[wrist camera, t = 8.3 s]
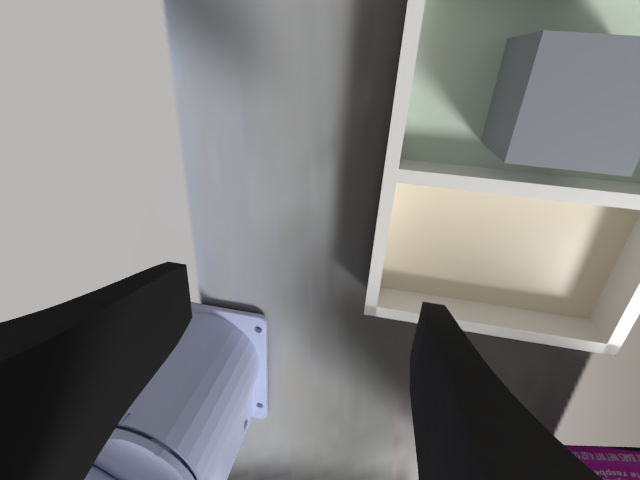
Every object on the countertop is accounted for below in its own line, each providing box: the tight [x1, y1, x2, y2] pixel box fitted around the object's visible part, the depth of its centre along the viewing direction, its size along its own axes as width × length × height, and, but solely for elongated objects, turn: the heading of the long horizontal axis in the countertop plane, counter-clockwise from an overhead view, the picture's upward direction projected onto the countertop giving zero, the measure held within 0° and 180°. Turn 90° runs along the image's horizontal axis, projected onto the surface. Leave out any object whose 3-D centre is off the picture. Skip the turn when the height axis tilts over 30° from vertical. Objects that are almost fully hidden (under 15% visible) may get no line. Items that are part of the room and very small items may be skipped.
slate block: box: [481, 30, 640, 177], centre depth 13 cm, size 4×4×4 cm
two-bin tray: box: [364, 0, 640, 356], centre depth 16 cm, size 15×12×2 cm
